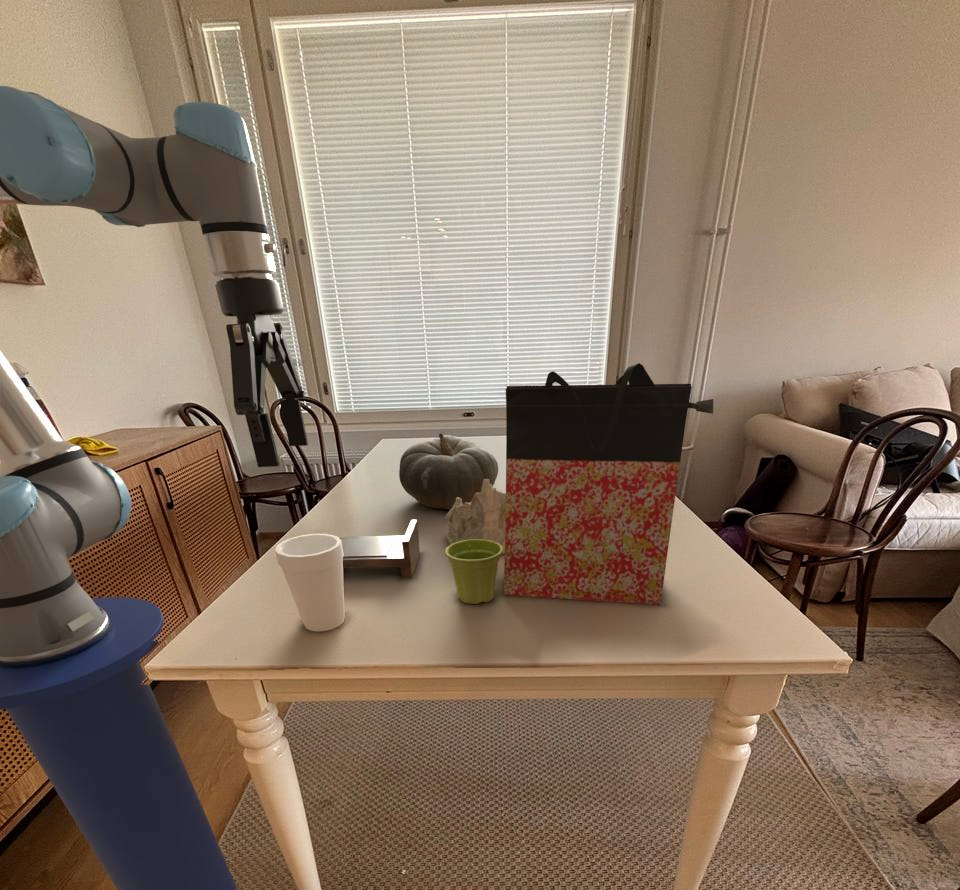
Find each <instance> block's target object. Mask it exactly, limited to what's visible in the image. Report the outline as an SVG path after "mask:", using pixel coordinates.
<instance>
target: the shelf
mask: <svg viewBox="0 0 960 890" xmlns="http://www.w3.org/2000/svg"><path fill="white" fill-rule="evenodd" d="M418 525H419V523H418V519H410V522H409V524H408V527H407V528H406V531H405V534H404V535H369V536H368V535H365V536H363V535H362V536H339V537H338V538H339V539H340V540H341V542H342V548H343V553H344V556H343V570H344V569H347V568H391V567H392V568H393V567H394V568H395V567H398V568H399V567H400V570H401V578H402V580H403V579H404V580H405V579H413V576H414V573H415V570H416V567H417V564H418V561H419V558H420V554H421V551H420V537H419V536H420V535H419V526H418Z"/></svg>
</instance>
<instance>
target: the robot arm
mask: <svg viewBox="0 0 960 890" xmlns="http://www.w3.org/2000/svg"><path fill="white" fill-rule="evenodd" d="M173 121H174V130H175V134H170V135H166V136H161V137H157V136H156V137H140V138H139V137H138V138H137V137H130V136H128V135H126V134H123V133H121V132H119V131H116V130H114V129H112V128H110V127H107V126H106V125H103V124H102V123H99V122H96V121H94V120H92V119H90V118H88V117H85V116H83V115H81V114H79V113H76V111H75V112H74V111H73V110H70V109H68V108H66V107H64V106H61V105H59V104H57V103H56V102H54V101H53V100H51V99H48V98H47V97H44V96H42V95H41V94H39V93H36V92H31V91H26V90H21V89H18V88H15V87H12V86H8V85H0V205H28V206H29V205H30V206H43V207H44V206H46V207H47V206H48V207H58V206H59V207H76V208H80V209H81V208H82V209H87V210H92V211H95V212H96V213H97V214H99V215H100V216H101V217H102V219H103V220H104V221H106V222H107V223H109V224H112V225H114V226H129V227H130V226H131V227H132V226H133V227H136V228H142V227H145V226H148V225H149V226H151V225H159V224H171V223H183V222H198V223H199V226H200V229H201V234H202V238H203V242H204V247H205V251H206V255H207V256H206V257H207V259H208V263H209V269H210V272H211V274H212V275H213V276H215V277H217V278H218V281H216V284H215V285H214V286H215V287H214V288H215V291H216V294H217V299H218V302H219V306H220V310H221V313H222V314H223V315H224V316H225V317H235V318H236V322H237V323H228V324H226V327H225V329H226V333H227V338H228V339H227V340H228V343H229V352H230V353H229V355H230V367H231V380H232V381H231V383H232V397H233V407H234V410H235V413H236V415H237V416H244V417H245V420H246V424H247V428H248V432H249V436H250V440H251V444H252V448H253V452H254V456H255V460H256V464H257V467H258V468H273V467H274V468H275V467H279V466H281V463H280V459H279V454H278V450H277V446H276V442H275V437H274V433H273V428H272V424H271V419H270V416H269V413H268V412H265V402H266V401H265V399H266V377H267V376H266V375H267V371H268V373H269V375H270V377H271V379H272V381H273V383H274V385H275V387H276V389H277V391H278V393H279V394H280V397H281V398H282V399H281V400H279V403H280V408H281V413H282V418H283V422H284V426H285V431H286V436H287V440H288V445H289V447H300V446H301V447H303V446H304V447H305V446H308V445H309V441H308V437H307V432H306V427H305V421H304V416H303V411H302V406H301V401H300V399H305V398H306V397H305V396H306V395H305V390H303V386H302V383H301V380H300V377H299V374H298V372H297V368H296V365H295V363H294V359H293V357H292V354H291V351H290V348H289V345H288V343H287V338H286V335H285V329H284V326H283V323H282V322H274V321H273V319H272V317H273V316H276V315H277V316H278V315H282V314H283V313H284V304H283V299H282V293H281V288H280V283H279V282H277V280H276V279H273V276H274V275H275V274H276V273H277V271H276V265H275V261H274V256H273V254H275V253H276V252H277V247H276V246H275V244H274V243H271V240H270V239H271V238H270V236H269V228H268V224H267V219H266V215H265V209H264V203H263V198H262V193H261V192H262V191H261V186H260V181H259V175H258V170H257V168H258V165H257V162H256V161H255V157H254V152H253V148H252V144H251V139H250V136H249V131H248V127H247V125H246V122H245V120H244V118H243V117H242V116H241V115H240V113H239V112H238V111H236V110H234V109H233V108H231V107H229V106H227V105H225V104H221V103H216V102H211V101H190V102H184V103H183V104H179V105H178V106H176V107H175V108H174V111H173ZM0 463H1V465H0V666H1V667H7V668H25V667H33V666H39V665H44V664H48V663H52V662H56V661H59V660H62V659H65V658H68V657H71V656H73V655H76V654H78V653H80V652H82V651H85V650H87V649H88V648H90V647H92V646H94V645H95V644H97V643H98V642H100V641H101V640H102V639H104V638H105V637H106V636H107V635H108V633H109V632H110V630H111V626H112V625H111V622H110V620H109V618H108V616H107V613H106V612H105V611H104V610H103V609H102V608H101V607H99V606H97V605H96V604H95V603H94V601H93V600H92V598H91V596H90V595H89V594H88V593H87V591H85V590H84V588H83V587H82V586H81V585H80V584H79V582H78V580H77V579H76V577H75V574H74V572H73V570H72V568H71V566H70V563H69V561H68V560H67V559H68V558H70V557H72V556H74V555H76V554H78V553H80V552H82V551H84V550H86V549H88V548H90V547H92V546H94V545H96V544H97V543H99V542H102V541H105V540H107V539H110V538H111V537H113V536H114V535H115V534H116V533H118V532H119V531H120V530H122V529H123V528H124V527H126V524H128V521H129V520H130V517H131V512H132V499H131V498H132V497H131V495H130V492H129V489H128V487H127V485H126V484H125V482H124V481H123V479H122V477H120V475H119V474H118V473H117V472H115V470H113V469H112V468H110V467H106V466H105V464H104V463H102V462H98V461H94V460H91V459H90V458H89V457H88V455H87V454H86V452H85V451H84V449H83V448H82V447H81V446H80V445H78V444H75V443H72V442H69V441H67V440H65V439H63V437H62V436H61V435H60V433H59V432H58V430H57V428H55V426H54V425H53V423H52V422H51V420H50V418H48V416H47V414H46V413H45V412H44V410H43V409H42V408H41V406H40V405H39V403H38V402H37V400H36V398H35V397H34V396H33V394H32V393H31V391H30V390H29V389H28V387H27V386H26V385H25V383H24V381H23V380H22V379H21V377H20V376H19V374H18V373H17V372H16V370H15V368H14V367H13V366H12V364H11V363H10V361H9V360H8V358H7V357H6V356H5V354H4V353H3V351H2V350H1V349H0Z"/></svg>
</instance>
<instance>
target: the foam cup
mask: <svg viewBox="0 0 960 890" xmlns="http://www.w3.org/2000/svg"><path fill="white" fill-rule="evenodd" d="M274 551H275V556H276V559H277V564H278V566H279V567H280V569H281V570H282V574H283V575H284V578H285V581H286V583H287V585H288V588H289V591H290V593H291V596H292V598H293V601H294V603H295V607H296V609H297V611H298V614H299V616H300V619H301V621H302V623H303V625H304V628H306V630H309V631H311V632H327V631H331V630H334V629H336V628H338V627H340V626H341V625H342V624H344V622H345V619H346V617H345V613H346V612H345V588H344V587H345V586H344V569H343V556H344V553H343V548H342V542H341V540H340V539H339V537H338V536H337V535H333V534H329V533H308V534H302V535H297V536H293V537H289V538H287V539H284V540H283V541H281V542H279V543H278V544H277V545H276V547H275V549H274Z"/></svg>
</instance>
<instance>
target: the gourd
mask: <svg viewBox="0 0 960 890" xmlns="http://www.w3.org/2000/svg"><path fill="white" fill-rule="evenodd" d="M399 461H400V462H399V471H398V477H399V478H398V479H399V482H400V484H401V486H402V488H403V489H404V491H405V492H406V493H407V494H408V495H409V496H410V497H412V498H414V499H415V500H416V501H417V502H418V503H419V504H421V505H424V506H426V507H429V508H432V509H437V510H450V509H451V508H452V506H453V505H454V503H455V502H456V498H457V497H459V498H461V499H462V503H463V505H464V503H465V502H467V503H470V502H472V500H473V497H474V495H475V493H479V492H481V488H482V484H483V480H484V479H489V481H490V484H492V487H493V488H494V485H495V482H496V480H497V477H498V474H499V464H498V461H497V459H496V458H495V456H494V455H493V454H492V453H490V452H489V451H488V450H485V449H484V448H483V447H482V446H480V445H478V444H477V443H475V442H473V441H471V440H469V439H462V438H460V437H458V436H455V435H450V434H445V435H443V433H442V432H440V433H438V438H434V439H431V440H429V441H423V442H417V443H415V444H412V445H411V446H409V447H408V448H407V449H405V451H404V452H403V454H402V455H401V457H400V460H399Z"/></svg>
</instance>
